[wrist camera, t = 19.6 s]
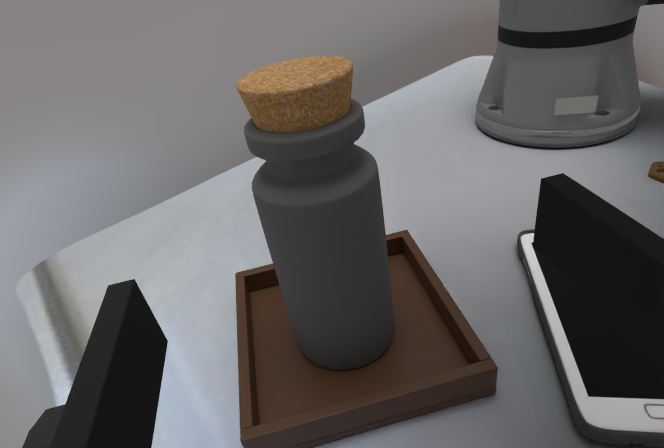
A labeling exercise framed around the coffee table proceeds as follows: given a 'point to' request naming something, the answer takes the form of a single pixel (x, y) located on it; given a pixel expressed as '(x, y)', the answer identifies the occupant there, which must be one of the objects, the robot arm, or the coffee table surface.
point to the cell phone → (595, 360)
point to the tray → (361, 383)
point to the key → (657, 171)
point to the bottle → (321, 208)
